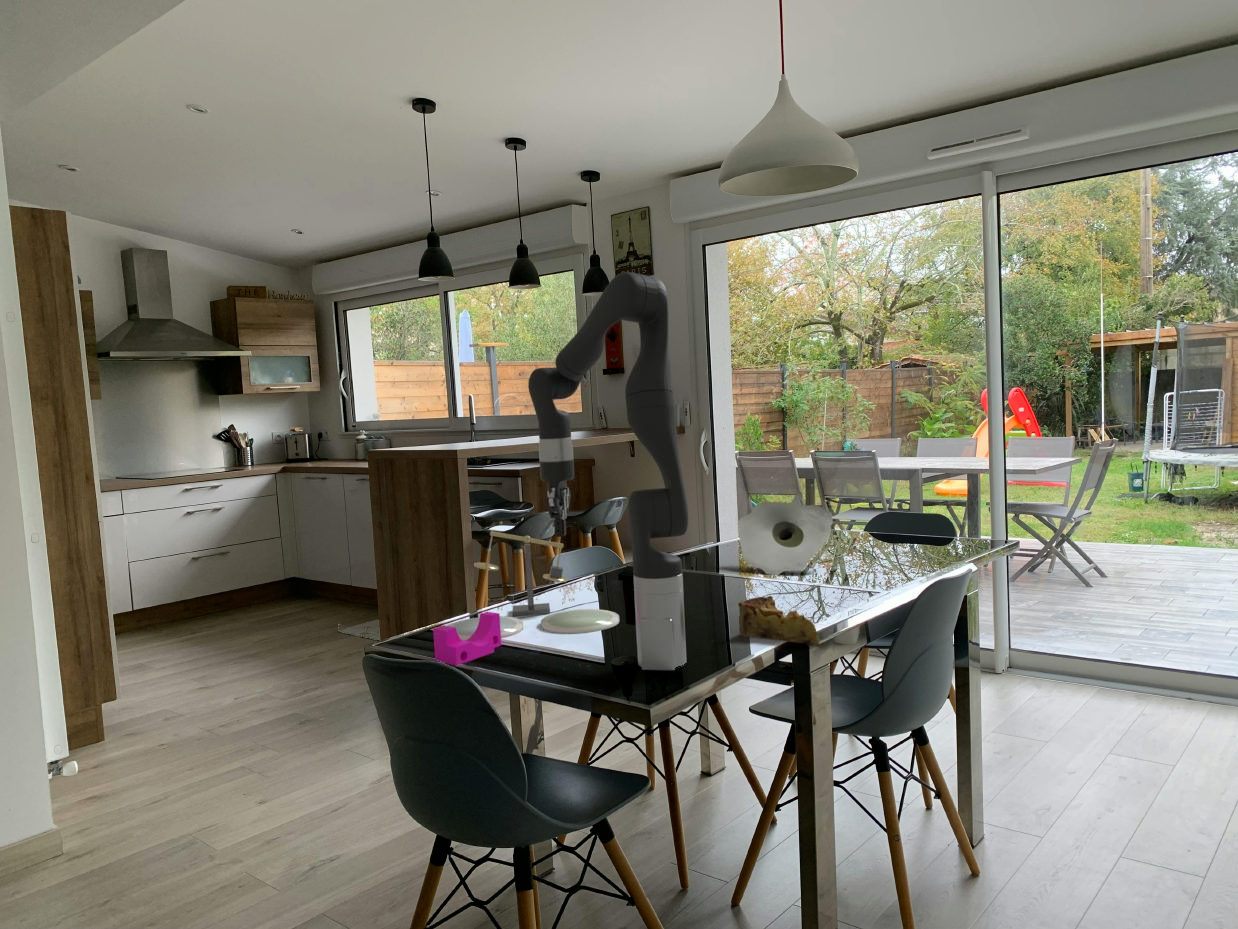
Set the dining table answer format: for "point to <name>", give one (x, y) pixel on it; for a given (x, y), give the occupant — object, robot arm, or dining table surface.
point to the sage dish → (579, 621)
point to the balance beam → (555, 570)
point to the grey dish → (469, 626)
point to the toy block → (468, 641)
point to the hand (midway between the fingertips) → (560, 536)
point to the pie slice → (774, 622)
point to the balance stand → (530, 592)
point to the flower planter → (783, 535)
